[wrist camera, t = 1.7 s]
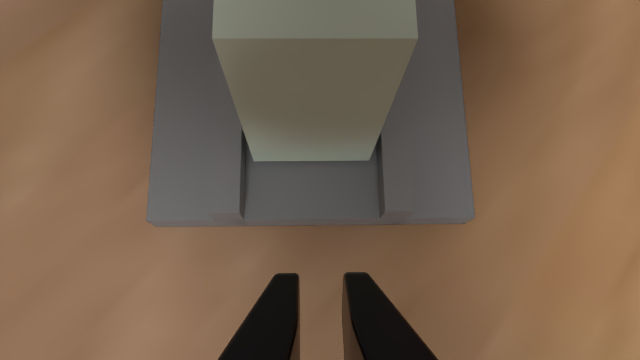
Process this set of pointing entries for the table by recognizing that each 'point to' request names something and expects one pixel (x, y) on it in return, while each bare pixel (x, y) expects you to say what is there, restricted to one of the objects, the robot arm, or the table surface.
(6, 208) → the table surface
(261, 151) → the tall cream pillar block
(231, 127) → the track
